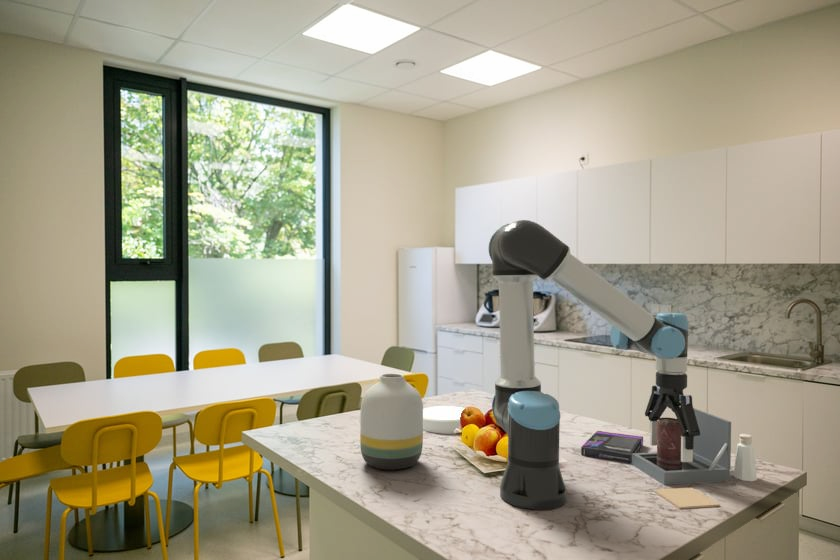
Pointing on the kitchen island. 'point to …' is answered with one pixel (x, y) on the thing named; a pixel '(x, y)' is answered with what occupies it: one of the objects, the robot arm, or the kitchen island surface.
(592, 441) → the box
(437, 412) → the container
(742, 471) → the salt shaker
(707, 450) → the case
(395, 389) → the vase
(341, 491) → the kitchen island surface
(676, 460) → the can
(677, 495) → the mat
